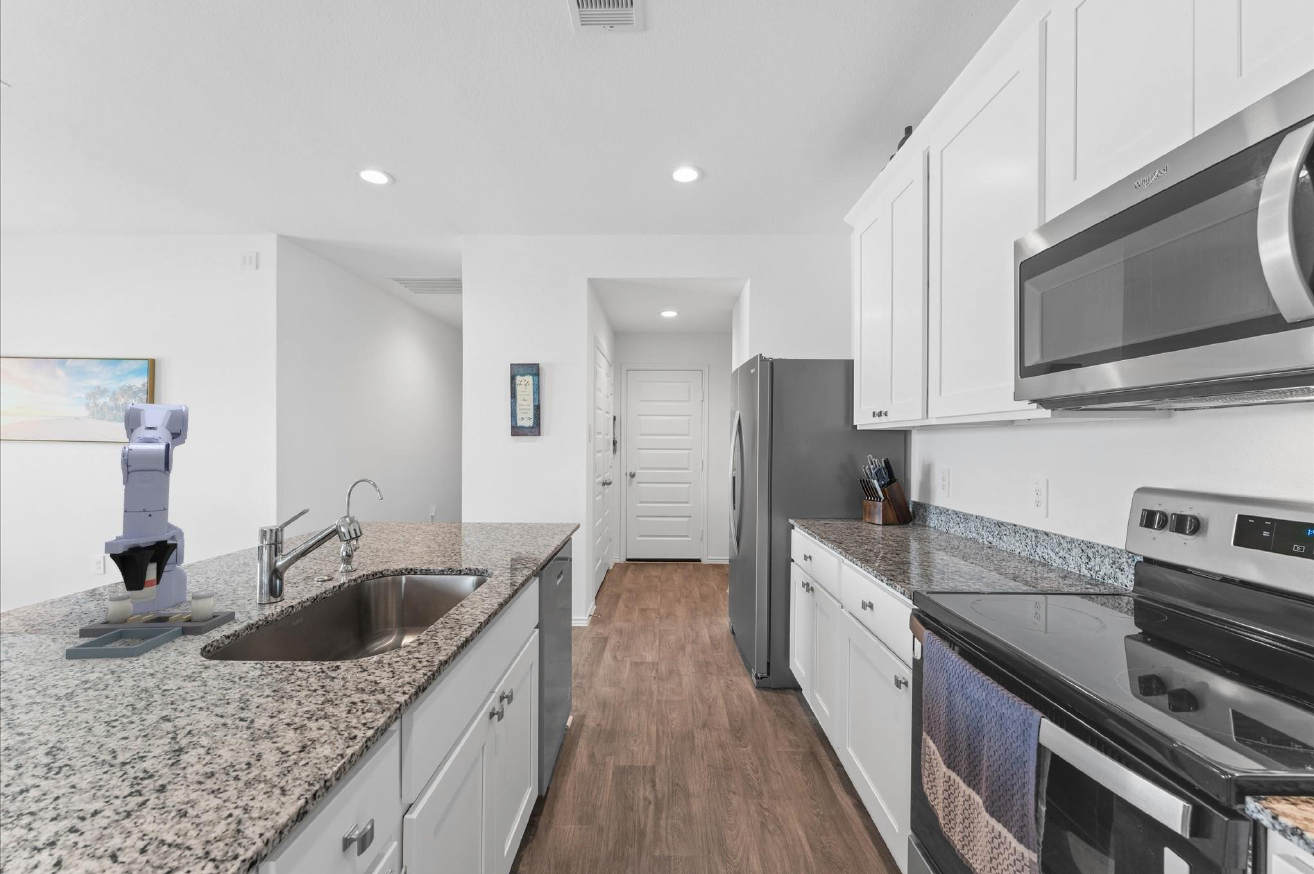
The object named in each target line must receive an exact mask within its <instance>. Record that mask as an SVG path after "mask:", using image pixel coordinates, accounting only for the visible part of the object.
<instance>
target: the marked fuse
mask: <svg viewBox="0 0 1314 874" xmlns="http://www.w3.org/2000/svg"><path fill="white" fill-rule="evenodd" d="M156 567H157V563H155V562H149V565H148V568H147V573H146V580H145V585H144V588H143V590H140V591H131V604H140V603H147V602H152V601H155V599H156V579H157V578H156Z"/></svg>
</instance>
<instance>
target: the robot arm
mask: <svg viewBox="0 0 1314 874" xmlns="http://www.w3.org/2000/svg"><path fill="white" fill-rule="evenodd" d="M123 421H124V429H125V434H126V438H127V439H128V445H123V446H122V448H121V453H120V468H121V472H122V485H123V486H124V489H123V490H124V493H123V517H122V519H123V520H122V534H121V535H116V536H115V539H113V540H109V541H105V542H104V554H105V555H109V557H110V559H111V560H112V561H113V562H114V563H115V565H116V566H117V569H118V570H119V572H120V574H121V577H122V580H123V583H124V587H125V589H126V591H140V590H143V588H144V585H145V580H146V573H147V568H148V565H149V562H155V563H157V567H156V578H157V579H156V599H155V601H152V602H147V603H140V604H133V611H132V613H153V612H156V611H157V612H159V611H162V610H166V609H169V608H172V607H175V605H177V604H179V603H183V602H186V601H187V588H188V586H187V585H188V580H187V579H188V578H187V573H186V571H185V570H184V569H183V568H182V567H181V565H183V564H184V560H185V536H184V535H185V532H184V531H183V529H182V528H181V527H179V526H177V525H174V524H173V523H171V522H170V521H169V505H170V504H169V502H170V501H169V500H170V478H171V477H170V476H171V473H172V470H173V461H174V459H173V458H174V450H175V448H176V447H179V446H181V445H185V443H186V440H187V439H188V429H189V406H187V405H186V404H180V405H179V404H163V403H162V404H161V403H141V402H140V403H136V402H132V401H129V402H128V403H127V404H125V406H124V420H123Z"/></svg>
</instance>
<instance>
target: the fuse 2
mask: <svg viewBox="0 0 1314 874" xmlns="http://www.w3.org/2000/svg"><path fill="white" fill-rule="evenodd" d="M214 595H215V591H214V590H213V589H203V590H196V591H193V592H191V610H190V612H191V622H207V621H209V620H211V619H213V612H214V604H215V603H214V602H215V600H214V599H215V596H214Z"/></svg>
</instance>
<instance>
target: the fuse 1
mask: <svg viewBox="0 0 1314 874" xmlns="http://www.w3.org/2000/svg"><path fill="white" fill-rule="evenodd" d="M107 609H108V610H107V611H108V612H107V613H108V614H107V615H108V616H107V619H108V624H123V623H126V622H127V619H129V618H131V617H132V611H133V604H131V591H127V590H126V591H117V592H116V591H115V592H113V593H109V594H108V608H107Z"/></svg>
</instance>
